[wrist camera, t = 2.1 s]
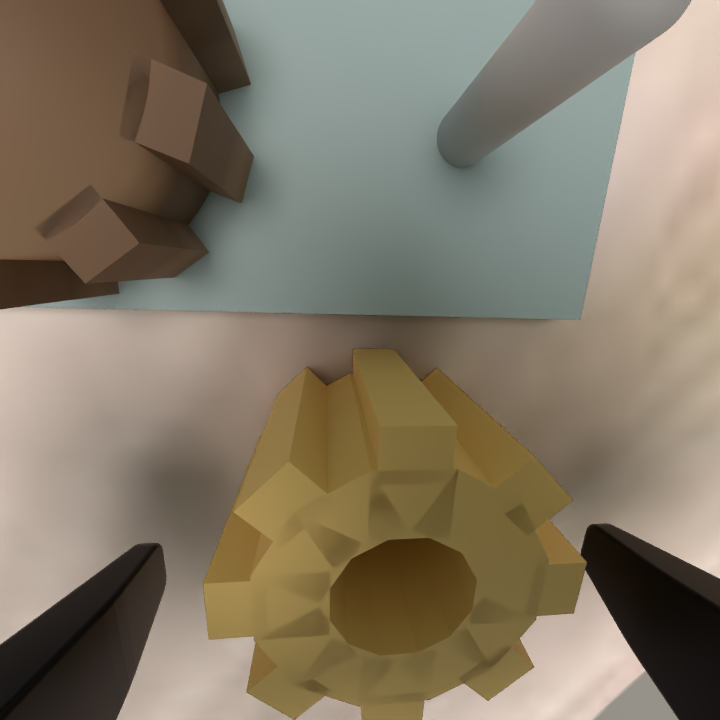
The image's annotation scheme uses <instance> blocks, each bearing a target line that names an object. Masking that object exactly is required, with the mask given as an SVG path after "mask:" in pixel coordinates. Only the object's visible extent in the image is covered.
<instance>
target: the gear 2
mask: <svg viewBox="0 0 720 720" xmlns="http://www.w3.org/2000/svg"><path fill="white" fill-rule="evenodd" d="M571 501H573V499H572V498H571V497H570V496H569V495H568V494H567V492H566V491H565V490H564V489H563V488H562V487H561V486H560V485H559V483H558V482H557V481H556V480H555V479H554V478H553V477H552V475H551V474H550V473H549V472H548V471H547V470H546V469H545V468H544V466H543V465H542V464H541V463H540V462H539V461H538V460H537V459H536V457H535V456H534V455H532V454H531V453H530V452H529V451H528V450H527V449H526V448H525V447H524V446H523V445H521V444H520V443H519V442H518V441H517V440H516V439H515V438H514V437H513V436H512V435H510V434H509V433H508V432H507V431H506V430H505V429H504V428H503V427H502V426H501V425H499V424H498V423H497V422H496V421H495V420H494V419H493V418H492V417H491V416H490V415H488V414H487V413H486V412H485V411H484V410H483V409H482V408H481V407H480V406H478V405H477V404H476V403H475V402H474V401H473V400H472V399H471V398H470V397H469V396H467V395H466V394H465V393H464V392H463V391H462V390H461V389H460V388H459V387H458V386H456V385H455V384H454V383H453V382H452V381H451V380H450V379H449V378H448V377H447V376H445V375H444V374H443V373H442V372H441V371H440V370H439V369H438V368H436V369H435V370H434V371H433V372H432V373H431V374H429V375H428V376H427V377H426V378H425V379H424V380H423V381H422V382H421V381H420V380H419V378H418V377H417V376H416V375H415V374H414V372H413V371H412V370H411V369H410V368H409V366H408V365H407V364H406V363H405V362H404V360H403V359H402V358H401V357H400V356H399V354H398V353H397V352H396V351H395V350H394V349H354V351H353V373H349V374H347V375H346V376H344V377H342V378H340V379H338V380H336V381H334V382H333V383H331V384H329V385H327V386H326V385H325V384H324V383H323V382H322V381H321V380H320V379H319V378H318V377H317V376H316V375H315V374H314V373H313V372H312V371H311V370H310V369H309V368H308V367H306V368H305V369H304V370H303V371H302V372H301V373H300V374H299V375H298V376H297V377H296V378H295V379H293V380H292V381H291V382H290V383H289V384H288V385H287V386H286V387H285V388H284V389H283V390H282V391H281V392H280V393H279V394H278V395H277V398H276V401H275V403H274V406H273V408H272V411H271V414H270V416H269V419H268V422H267V424H266V427H265V430H264V432H263V435H262V436H260V438H259V441H258V443H257V446H256V448H255V451H254V453H253V456H252V459H251V461H250V464H249V466H248V469H247V471H246V474H245V477H244V479H243V482H242V484H241V487H240V489H239V492H238V495H237V497H236V500H235V502H234V505H233V507H232V510H231V513H230V515H229V518H228V520H227V523H226V525H225V528H224V531H223V533H222V536H221V538H220V541H219V543H218V546H217V549H216V551H215V554H214V556H213V559H212V561H211V564H210V567H209V569H208V572H207V574H206V577H205V579H204V582H203V590H204V600H205V609H206V618H207V628H208V637H209V640H210V639H224V638H238V637H251V636H254V641H255V642H256V644H255V649H254V654H253V660H252V665H251V670H250V676H249V681H248V687H247V692H246V693H248V694H250V695H252V696H253V697H255V698H257V699H259V700H260V701H262V702H264V703H266V704H267V705H269V706H271V707H273V708H274V709H276V710H278V711H280V712H281V713H283V714H285V715H287V716H288V717H290V718H292V719H294V720H295V719H296V718H297V717H298V716H300V715H301V714H302V713H303V712H305V711H306V710H307V709H309V708H310V707H311V706H312V705H314V704H315V703H316V702H317V701H319V700H320V699H321V698H322V697H324V696H327V697H330V698H334V699H337V700H340V701H343V702H346V703H349V704H353V705H356V706H359V707H360V706H361V717H362V720H422V716H423V708H424V700H430V699H432V698H434V697H436V696H438V695H440V694H442V693H444V692H446V691H448V690H451V689H453V688H455V687H457V686H459V685H461V684H463V683H465V684H466V685H467V686H469V687H470V688H471V689H473V690H474V691H475V692H477V693H478V694H479V695H481V696H482V697H483V698H485V699H486V700H487V701H488V700H490V699H491V698H493V697H494V696H495V695H497V694H498V693H499V692H501V691H502V690H504V689H505V688H506V687H508V686H509V685H510V684H512V683H513V682H514V681H516V680H517V679H519V678H520V677H521V676H523V675H524V674H525V673H527V672H528V671H530V670H531V669H532V668H534V665H533V663H532V662H531V660H530V658H529V656H528V654H527V652H526V650H525V648H524V646H523V644H522V642H521V640H520V639H519V638H520V637H521V636H522V635H523V634H524V633H525V632H526V630H527V629H528V628H529V627H530V626H531V625H532V624H533V623H534V621H535V620H536V617H537V616H543V615H557V614H571V613H574V611H575V607H576V603H577V599H578V595H579V591H580V587H581V584H582V580H583V576H584V572H585V568H586V564H587V562H586V561H585V560H584V558H583V557H582V556H581V555H580V554H579V553H578V552H577V551H576V549H575V548H574V547H573V546H572V545H571V544H570V543H569V541H568V540H567V539H566V538H565V537H564V536H563V535H562V534H561V532H560V531H559V530H558V529H557V528H556V527H555V526H554V525H553V523H552V522H551V521H550V520H549V519H550V518H551V517H552V516H554V515H555V514H556V513H557V512H559V511H560V510H561V509H562V508H564V507H565V506H566V505H568V504H569V503H570V502H571Z"/></svg>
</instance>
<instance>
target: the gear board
mask: <svg viewBox="0 0 720 720" xmlns="http://www.w3.org/2000/svg"><path fill="white" fill-rule="evenodd" d="M223 2H224V5H225V7H226V10H227V13H228V15H229V18H230V20H231V23H232V26H233V29H234V32H235V35H236V38H237V41H238V44H239V48H240V51H241V54H242V57H243V60H244V63H245V67H246V70H247V73H248V76H249V79H250V82H251V85H248V86H245V87H241V88H238V89H234V90H231V91H227V92H224V93H220V94H219V100H220V104H221V106H222V107H223V109H224V110H225V112H226V114H227V115H228V117H229V118H230V120H231V121H232V123H233V124H234V126H235V127H236V129H237V131H238V132H239V134H240V135H241V137H242V138H243V140H244V141H245V143H246V144H247V146H248V148H249V149H250V151H251V152H252V154H253V155H254V158H253V162H252V166H251V170H250V174H249V178H248V181H247V185H246V189H245V193H244V197H243V200H242V203H239V202H237V201H234V200H232V199H229V198H226V197H224V196H221V195H219V194H216V193H214V192H211V191H209V194H208V196H207V198H206V200H205V202H204V203H203V205H202V207H201V208H200V210H199V212H198V213H197V214H196V216H195V217H194V218H193V219H192V221H191V222H190V223H189V224H188V225H189V226H190V228H191V229H192V230H193V232H194V233H195V234H196V235H197V237H198V238H199V239H200V241H201V242H202V243H203V244H204V246H205V247H206V248H207V250H208V251H209V253H207V254H206V255H205V256H203V257H202V258H201V259H199V260H198V261H197V262H195V263H194V264H192V265H191V266H190V267H188V268H187V269H186V270H184V271H183V272H182V273H180V274H179V275H177V276H176V277H175V278H161V279H146V280H132V281H118V288H119V294H114V295H106V296H99V297H91V298H83V299H76V300H68V301H60V302H52V303H45V304H37V305H29V306H22V307H47V308H90V309H133V310H176V311H220V312H263V313H306V314H349V315H392V316H436V317H479V318H522V319H565V320H580V318H581V314H582V309H583V304H584V299H585V294H586V289H587V284H588V280H589V275H590V270H591V265H592V260H593V255H594V250H595V246H596V241H597V236H598V231H599V226H600V221H601V216H602V212H603V207H604V202H605V197H606V192H607V187H608V183H609V178H610V173H611V168H612V163H613V158H614V153H615V149H616V144H617V139H618V134H619V129H620V124H621V119H622V115H623V110H624V105H625V100H626V95H627V90H628V85H629V81H630V76H631V71H632V66H633V61H634V56H635V52H637V51H638V50H639V49H641V48H642V47H644V46H645V45H647V44H648V43H650V42H651V41H652V40H654V39H655V38H657V37H658V36H660V35H661V34H662V33H664V32H665V31H667V30H668V29H669V28H670V27H671V26H673V25H674V24H675V22H676V21H677V20H678V19H679V18H680V17H681V16H682V14H683V13H684V12H685V10H686V8H687V7H688V5H689V4H690V2H691V0H223Z"/></svg>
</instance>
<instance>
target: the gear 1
mask: <svg viewBox="0 0 720 720" xmlns="http://www.w3.org/2000/svg"><path fill="white" fill-rule="evenodd" d="M248 85H251V82H250V79H249V76H248V73H247V70H246V67H245V63H244V60H243V57H242V54H241V51H240V48H239V44H238V41H237V38H236V35H235V32H234V29H233V26H232V23H231V20H230V18H229V15H228V13H227V10H226V7H225V5H224V2H223V0H0V309H6V308H14V307H22V306H29V305H37V304H45V303H52V302H60V301H68V300H76V299H83V298H91V297H99V296H106V295H114V294H119V288H118V281H132V280H146V279H161V278H175V277H176V276H177V275H179V274H180V273H182V272H183V271H184V270H186V269H187V268H188V267H190V266H191V265H192V264H194V263H195V262H197V261H198V260H199V259H201V258H202V257H203V256H205V255H206V254H207V253H209V251H208V250H207V248H206V247H205V246H204V244H203V243H202V242H201V241H200V239H199V238H198V237H197V235H196V234H195V233H194V232H193V230H192V229H191V228H190V226H189V225H188V224H189V223H190V222H191V221H192V219H193V218H194V217H195V216H196V214H197V213H198V212H199V210H200V208H201V207H202V205H203V203H204V202H205V200H206V198H207V196H208V194H209V191H211V192H214V193H216V194H219V195H221V196H224V197H226V198H229V199H232V200H234V201H237V202H239V203H242V200H243V197H244V193H245V189H246V185H247V181H248V178H249V174H250V170H251V166H252V162H253V158H254V155H253V154H252V152H251V151H250V149H249V148H248V146H247V144H246V143H245V141H244V140H243V138H242V137H241V135H240V134H239V132H238V131H237V129H236V127H235V126H234V124H233V123H232V121H231V120H230V118H229V117H228V115H227V114H226V112H225V110H224V109H223V107H222V106H221V104H220V100H219V94H220V93H224V92H227V91H231V90H234V89H238V88H241V87H245V86H248Z"/></svg>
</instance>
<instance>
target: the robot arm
mask: <svg viewBox="0 0 720 720" xmlns="http://www.w3.org/2000/svg"><path fill="white" fill-rule="evenodd" d="M581 556H582V557H583V558H584V560H585V561H586V562H587V564H586V568H585V570H586V572H587V574H588V575H589V577H590V579H591V581H592V582H593V584H594V586H595V588H596V589H597V591H598V593H599V594H600V596H601V598H602V600H603V601H604V603H605V605H606V607H607V608H608V610H609V612H610V614H611V615H612V617H613V619H614V621H615V622H616V624H617V626H618V628H619V629H620V631H621V633H622V634H623V636H624V638H625V639H626V641H627V643H628V644H629V646H630V648H631V649H632V651H633V652H634V654H635V655H636V657H637V658H638V660H639V661H640V663H641V664H642V666H643V667H644V669H645V670H646V672H647V673H648V675H649V676H650V678H651V679H652V681H653V682H654V684H655V685H656V687H657V688H658V690H659V691H660V693H661V694H662V695H663V697H664V698H665V700H666V701H667V703H668V705H669V706H670V707H671V709H672V711H673V712H674V713H675V715H676V716H677V718H678V719H679V720H720V579H719V578H717V577H715V576H713V575H711V574H709V573H707V572H705V571H703V570H701V569H699V568H697V567H695V566H693V565H691V564H689V563H687V562H685V561H683V560H681V559H679V558H677V557H675V556H673V555H671V554H669V553H667V552H665V551H663V550H661V549H659V548H657V547H655V546H653V545H651V544H649V543H647V542H645V541H643V540H641V539H639V538H637V537H635V536H633V535H631V534H629V533H627V532H625V531H623V530H621V529H619V528H617V527H615V526H613V525H611V524H606V523H604V524H591V525H589V526H588V527H587V530H586V534H585V538H584V542H583V545H582V549H581ZM165 585H166V570H165V562H164V555H163V549H162V546H161V545H160V544H159V543H141V544H137V545H135V546H134V547H132V548H131V549H129V550H128V551H127V552H125V553H124V554H123V555H121V556H120V557H119V558H117V559H116V560H114V561H113V562H112V563H110V564H109V565H108V566H106V567H105V568H104V569H102V570H101V571H100V572H98V573H97V574H95V575H94V576H93V577H91V578H90V579H89V580H87V581H86V582H85V583H83V584H82V585H81V586H79V587H78V588H76V589H75V590H74V591H72V592H71V593H70V594H68V595H67V596H66V597H64V598H63V599H62V600H60V601H59V602H57V603H56V604H55V605H53V606H52V607H51V608H49V609H48V610H47V611H45V612H44V613H43V614H41V615H40V616H38V617H37V618H36V619H34V620H33V621H32V622H30V623H29V624H28V625H26V626H25V627H23V628H22V629H21V630H19V631H18V632H17V633H15V634H14V635H13V636H11V637H10V638H9V639H7V640H6V641H4V642H3V643H2V644H0V720H116V719H117V717H118V715H119V712H120V710H121V708H122V706H123V703H124V701H125V698H126V696H127V694H128V691H129V689H130V686H131V684H132V681H133V678H134V676H135V673H136V670H137V667H138V664H139V662H140V659H141V656H142V653H143V650H144V647H145V644H146V641H147V639H148V636H149V633H150V630H151V627H152V624H153V621H154V618H155V615H156V613H157V610H158V607H159V604H160V601H161V598H162V595H163V592H164V589H165Z"/></svg>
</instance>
